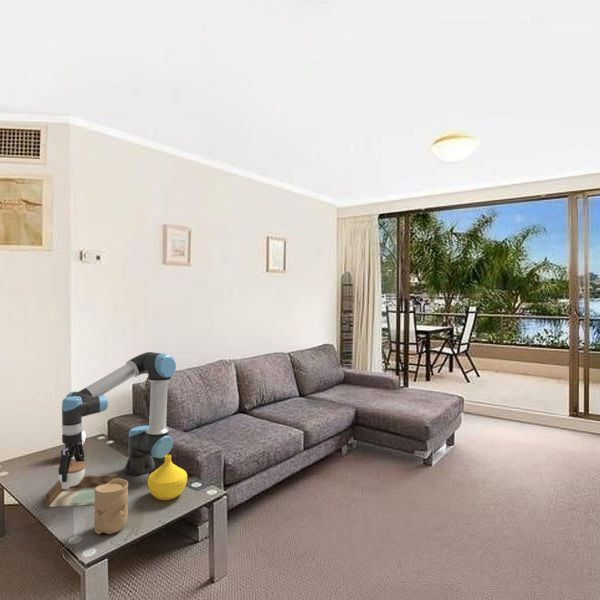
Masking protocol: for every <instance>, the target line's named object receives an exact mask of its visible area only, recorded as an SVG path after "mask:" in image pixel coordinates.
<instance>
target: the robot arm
mask: <svg viewBox="0 0 600 600" xmlns="http://www.w3.org/2000/svg"><path fill="white" fill-rule="evenodd" d="M176 369H177V364H176V360H175V358H174V357H173V356H171V355H169V354H166V353H163V352H162V353H161V352H154V351H153V352H152V351H147V352H143V353H141V354H139V355H137V356H134V357H133V358H130V359H129V360H127V361H126V362H125V364H124V365H122V366H121V367H119V368H117V369H115V370H114V371H111V372H110V373H108V374H107V375H105V376H104V377H101V378H100V379H98V380H96V381H95V382H92V384H90V385H88V386H86V387H84V388H82V389H81V390H79V391H71V392H69V393H68V394H66V396H65V398H63V399H62V402H61V422H62V423H61V428H62V430H61V432H62V437H61V441H62V444H64V445H65V448H64V449H61V451H60V462H59V466H58V468H59V475H62V489H69V473H68V471H69V467H70V463H71V462H72V460H73V459H72V457H73V455H74V458H75V459H74V461H82V462H84V461H85V453H84V446H82V432H81V431H82V429H83V427H82V426H83V424H82V423H83V422H82V421H83V420H82V418H83V417H88V416H92V415H95V414H99V413H102V412H105V411H106V410H107V409H108V407H109V400H108V398H107V396H105V395H106V394H107V393H108V392H111V391H112V390H113V389H115V388H117V387H119V386H120V385H122V384H124V383H125V382H127V381H128V380H130V379H132V378H133V377H135V378H137V377H138V376H140V375H145V374H147V380H148V381H149V382H150V394H149V395H150V396H149V399H150V400H149V417H148V418H149V421H148V423H149V424H148V425H139V426H135V427H133V428H131V429H130V430H129V431H128V456H127V460H126V463H125V465H124V472H125V474H127V475H129V476H141V475H145V474H148V473H150V472H151V473H152V471H153V470H155V461H154V459H153V458H157V459H163V458H165V455H169V453H170V452H171V451H172V449H173V445H174V440H173V438H172V437H171V436H170V435H169V434H170V433H169V432H170V429H169V428H168V427H167V411H168V409H167V407H168V387H169V384H168V383H169V382H170V381H171V379H172V376H174V374H175V372H176ZM81 455H82V456H81Z"/></svg>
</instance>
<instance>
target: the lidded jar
mask: <svg viewBox="0 0 600 600" xmlns="http://www.w3.org/2000/svg"><path fill="white" fill-rule="evenodd" d="M86 467H87V466H86V462H84V461H76V460H74V461H71V463H70V467H69V471H68V473H69V487H71V486H75V485H78V484H79V483H80V481H81V480H82V479H83V477H84V476H86V475H85V474H86ZM57 471H58V473H57V474H58V475H57V476H58V481H59V480H60V482H61V483H62V475H59V467H58V468H57Z"/></svg>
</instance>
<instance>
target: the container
mask: <svg viewBox="0 0 600 600" xmlns="http://www.w3.org/2000/svg"><path fill="white" fill-rule="evenodd" d="M128 488H129V481H128V480H126V479H124V478H120V477H118V478H116V479H112V480H111V481H110V482H108V483H107V484H104V485H99V486H98V487H96V488H95V505H94V522H93V523H94V532H95V533H96V534H97V535H99V536H100V535H102V533H105V534H106V535H112V534H116V533H118V532H119V531H120V530H121V529H123V527H124V526H125V525H126V523H127V522H128V517H129V509H128V508H129V505H128V500H129V490H128Z"/></svg>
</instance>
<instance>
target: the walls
mask: <svg viewBox="0 0 600 600" xmlns="http://www.w3.org/2000/svg"><path fill="white" fill-rule="evenodd" d="M116 478H119V473H117V474H112V473H111V474H93V475H89V474H88V475H84V477H83V479H82V480H81V481H80V483H79V484H78V485H75V486H71V487H69V488H89V487H98V486H99V485H104V484H107V483H108V482H110V481H111V480H112V479H116ZM63 490H64V489H62V483H61V482H60V480H59V479H58V481H57V482H56V483H55V484H53V486H52V487H51V488H50V489H49V490H48V491H47V492H46V493H45V508H50V507H49V506H50V504H51V503H52V502H53V501H54V500H55V499H56V498H57V497H58V496H59V494H60V493H61V492H62V491H63Z"/></svg>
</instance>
